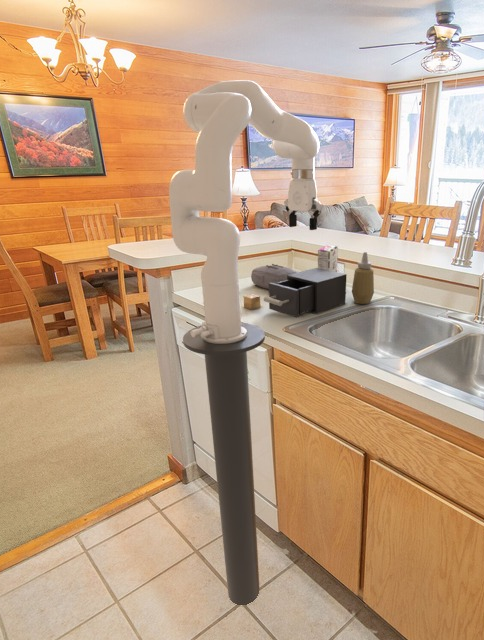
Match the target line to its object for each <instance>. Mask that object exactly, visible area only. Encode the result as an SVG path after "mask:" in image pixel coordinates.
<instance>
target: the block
mask: <svg viewBox="0 0 484 640" xmlns="http://www.w3.org/2000/svg"><path fill="white" fill-rule="evenodd" d="M243 308H245V309H248V310H251V311H252V310H256V309H259V308H261V296H260V295H257V294H253V293H250V294H246V295H243Z"/></svg>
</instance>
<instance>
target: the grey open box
mask: <svg viewBox="0 0 484 640" xmlns="http://www.w3.org/2000/svg"><path fill="white" fill-rule="evenodd" d="M347 275H348V274H347V273H342V272H338V271H337V272H334V271H329V270H325V269H320V268H318V267H314V268H310V269H307V270H302V271H298V272H297V273H294V274H290V275H287V280H289V279H295V280H299V281H303V282H307V283H311V284H315V309H313V310H310V311H307V312H308V313H312V314H315V315H318V314H321V313H323V312H326V311H329V310H332V309H335V308H337V307H340V306H343V305H346V297H347V277H348V276H347Z"/></svg>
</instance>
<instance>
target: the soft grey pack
mask: <svg viewBox="0 0 484 640" xmlns="http://www.w3.org/2000/svg"><path fill="white" fill-rule="evenodd" d="M294 273H298V272H297V271H296V270H294V269H292V268H290V267H287V266H283V265H278V264H274V263H271V265H270V264H269V265H268V264H267V265H261V266H258V267H255V268H254V269H252V270H251V275H250V278H251V282H252V283H253V284H254V285H256V286H258V287H260V288H261V289H262V288H263V289H264V290H269V283H275V284H276V283H277V282H281V281H285V280H287V275H290V274H294Z"/></svg>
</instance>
